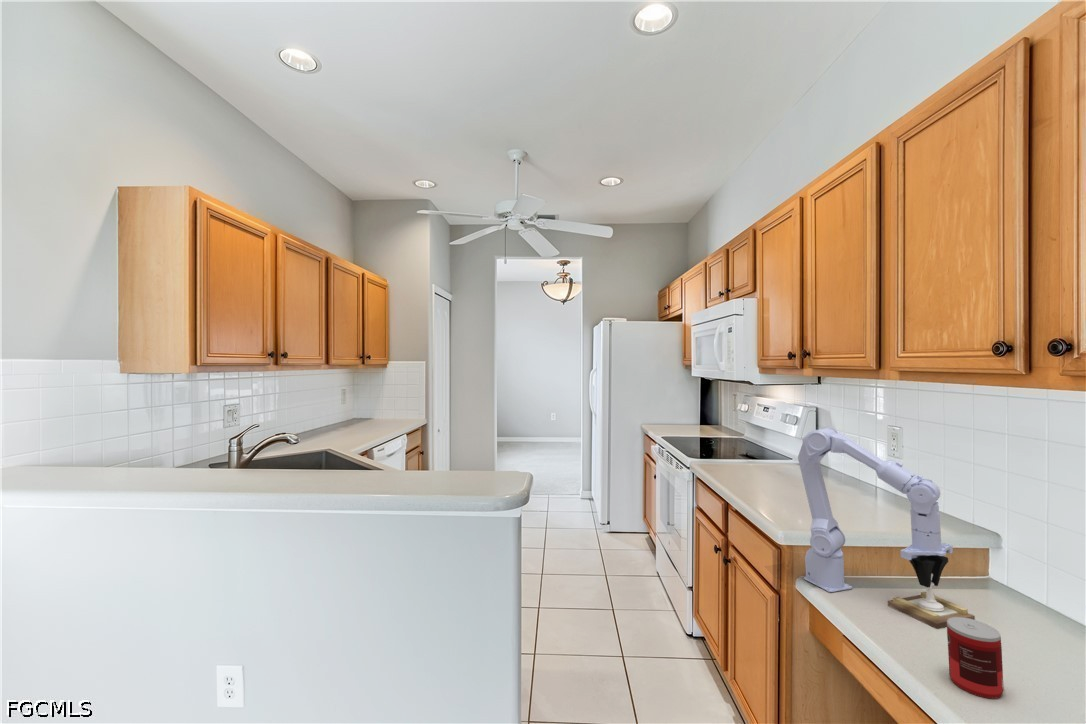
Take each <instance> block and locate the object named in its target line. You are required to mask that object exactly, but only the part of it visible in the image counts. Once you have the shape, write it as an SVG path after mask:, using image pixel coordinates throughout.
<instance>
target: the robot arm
mask: <svg viewBox="0 0 1086 724" xmlns="http://www.w3.org/2000/svg"><path fill="white" fill-rule="evenodd" d="M829 452H830V453H836V454H838V453H839V454H846V455H848V456H850V457H851V458H853V459H854V460H856V461H858V462H860V463H862V464H864V465H865V466H866V467H868V468H871V469H872V470H873V471H874V472H875V473H876V476H877V478H878V479H879V480H881V481H882V482H884V483H885V484H887V485H888V486H890V487H892V488H894V489H896V491H899V492H900V493H901V494H904V495H906V498H907V499H908V501H909V502H910V526H911V528H910V529H911V544H910V545H909V546H907V547H905V548H903V549H900V558H901V559H905V560H907V561H908V562H910V564H911V566H912V567H913V570H914V572H915V574H916V578H917V580H918V581H917V582H918V583H919V585H920V586H922V587H925V588H927V587H928V588H929V587H930V585H931V582H933V583H934V585H933V586H935V587H938V586H939V583H940V580H941V575H942V573H943V570H944V568H945V566H946V565H947V564H948V563H949V558H948V557H947V554H953V553H954V551H953V550H954V549H953V545H952V544H948V543H946V542H943V543H942V537H941V536H942V535H941V532H942V531H941V515H940V514H941V513H940V511H939V509H940V507H939V502H938V500H939V498H940V497H941V489H940V488H939V486H938V485H937V484H936V483H935V482H933V480H932V479H929V478H923V475H921V474H918V475H917V474H915V473H914V472H913V471H911V470H909V469H907V468H905V467H904V466H903V465H904V464H903V463H902V462H900V461H896V462H895V461H894V460H884V459H881V458H880V457H879V456H877V455H875V454H874V453H872V452H871V451H869V450H868V449H867V448H865V447H863V446H862V445H861V444H859V443H857V442H856V441H855V440H853V439H852V438H850V437H848V436H847V435H846V434H845V433H842V432H840V431H839V432H838V430H836V429H835V428H832V427H829V426H828V427H827V426H826V427H823V428H820V429H814V430H811V431H809V432H808V433H807V434H806V435H805V436H804V437H803V438H802V444H801V446H800V449H799V453H798V456H797V459H798V464H799V469H800V472H801V473H800V474H801V478H802V481H803V485H804V489H805V494H806V497H807V500H808V502H807V503H808V507H809V509H810V514H811V515H810V516H811V525H810V534H811V536H810V539H809V544H810V548H809V549H808V550H807V551H806V553H805V556H804V562H805V565H804V566H805V576H804V577H803V580H804V581H806V582H809V583H811V584H813V585H815V586H816V587H819V588H821V589H822V590H824V591H826V592H828V593H834V592H840V591H846V590H851V589H853V586H851V585H850V584H848V583H845V568H844V567H845V564H844V563H845V562H844V552H843V551H842V547H843V546H845V544H846V536H845V534H844V533H843V531H842V530H841V528H840V526H839V522H838V521H837V520H836V519H835V517H834V515H833V512H832V508H831V503H830V501H829V497H828V491H827V488H826V487H827V486H826V484H825V479H824V476H823V471H822V467H821V463H820V461H821V460H822V459H823V458H824V457H825V456H826V455H827V454H828V453H829ZM931 573H932V574H933V577H932V580H931Z"/></svg>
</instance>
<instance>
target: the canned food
mask: <svg viewBox="0 0 1086 724" xmlns="http://www.w3.org/2000/svg"><path fill="white" fill-rule="evenodd" d="M946 636H947V651H948V652H947V654H948V668H949V669H948V670H949V671H948V672H949V673H948V674H949V676H950V678H951V681H952V682H953V683H954V684H955V685H956V686H957V687H958V688H959V689H961V690H963V691H964V692H967V693H969V694H972V695H975V696H978V697H982V698H986V699H999V698H1000V697H1002V695H1003V694H1004V693H1003V692H1005V691H1004V688H1005V687H1004V674H1003V673H1004V672H1003V671H1004V670H1003V648H1002V647H1003V646H1002V638H1001V633H1000V631H999V630H997V628H995V627H993V626H991V625H989V624H988V623H985V622H982V621H979V620H976V619H975V620H973V619H969V618H962V617H953V618H949V619H948V620H947V627H946Z"/></svg>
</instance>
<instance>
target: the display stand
mask: <svg viewBox="0 0 1086 724" xmlns="http://www.w3.org/2000/svg"><path fill="white" fill-rule="evenodd" d="M926 592H927V591H922V592H920V594H918V595H917V594H916V595H912V596H905V597H901V596H894V597H893V598H892V599H891V600H887V607H890V608H892V609H894V610H897V611H899V612H900V613H901V614H902V613H903V614H905V615H907V616H909V617H912V619H915V620H917V621H920V622H921V621H922V622H921V623H924V624H926V625H927V626H930V627H931V628H932V627H933V628H934V629H936V630H938V629H939V630H940V629H943V628H947V620H948V619H949V618H953V617H962V618H969V619H973V620H976V615H974V614H971V613H969V610H968V608H965V607H963V606H961V605H958V604H956V603H954V602H951V601H949V600H946V599H944V598H941V597H939V596H937V595H934V598H935V600H936V601H937V602H938V603H940V604H942V605H943V608H944V610H943V611H931V610H927V609H924V608H922V607H920V606H919V601H920V600H925V598H926Z"/></svg>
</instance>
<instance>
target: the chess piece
mask: <svg viewBox="0 0 1086 724" xmlns="http://www.w3.org/2000/svg"><path fill="white" fill-rule="evenodd" d="M932 577H933V574H932V573H931V580H932ZM933 586H934V583H933V582H931V585H930V587H929V588H928V587H926V591H925V592H926V598H925V600H920V601H919V606H920V607H922V608H924V609H927V610H931V611H943V610H944V608H943V605H942V604H940V603H938V602H937V601H936V600H935V598H934V596H935V594H934V591H933Z"/></svg>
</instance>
